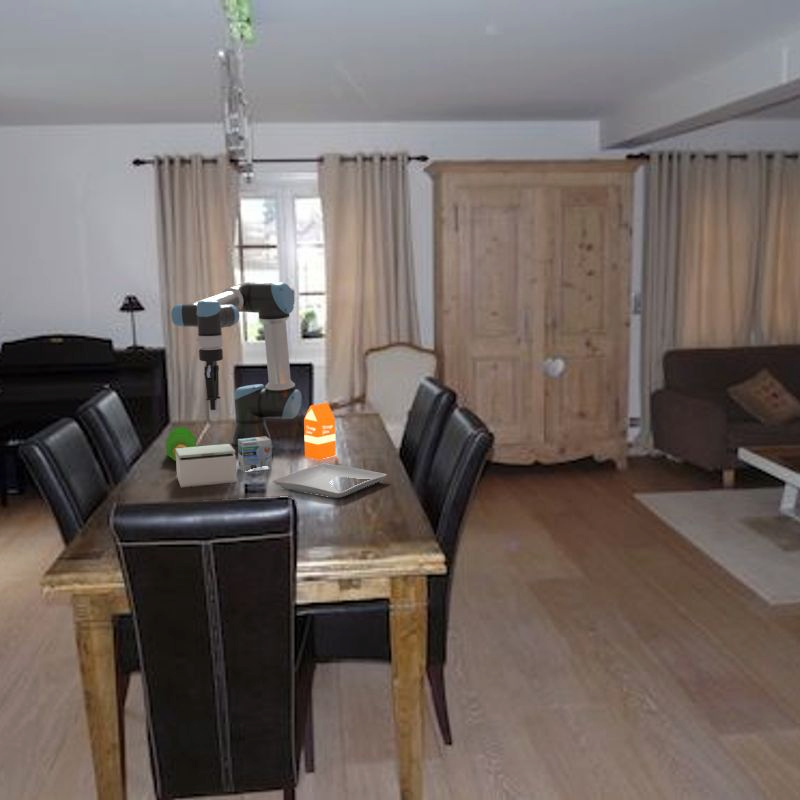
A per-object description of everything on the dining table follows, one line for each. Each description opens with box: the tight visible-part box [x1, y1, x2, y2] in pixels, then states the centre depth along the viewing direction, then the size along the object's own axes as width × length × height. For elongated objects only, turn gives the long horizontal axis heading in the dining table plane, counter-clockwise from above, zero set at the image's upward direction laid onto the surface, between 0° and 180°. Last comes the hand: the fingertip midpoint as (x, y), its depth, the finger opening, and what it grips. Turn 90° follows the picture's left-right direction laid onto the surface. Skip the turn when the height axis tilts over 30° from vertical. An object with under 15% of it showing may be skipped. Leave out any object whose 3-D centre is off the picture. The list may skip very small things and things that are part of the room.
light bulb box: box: [237, 436, 273, 473], centre depth 286 cm, size 11×7×11 cm, turn 117°
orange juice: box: [303, 402, 337, 461], centre depth 302 cm, size 8×9×20 cm
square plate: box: [272, 463, 388, 499], centre depth 264 cm, size 27×27×4 cm
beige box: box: [175, 453, 237, 489], centre depth 272 cm, size 18×14×9 cm
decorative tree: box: [165, 426, 197, 462], centre depth 304 cm, size 11×12×30 cm
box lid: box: [175, 443, 236, 458], centre depth 271 cm, size 18×14×1 cm
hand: (214, 418), depth 269 cm, fingers closed
